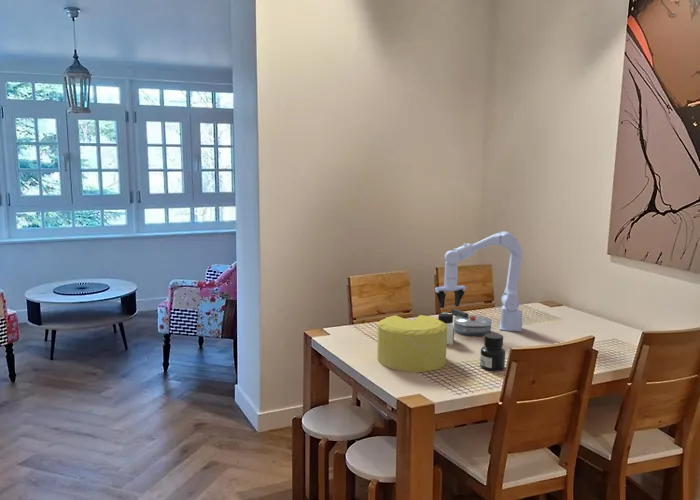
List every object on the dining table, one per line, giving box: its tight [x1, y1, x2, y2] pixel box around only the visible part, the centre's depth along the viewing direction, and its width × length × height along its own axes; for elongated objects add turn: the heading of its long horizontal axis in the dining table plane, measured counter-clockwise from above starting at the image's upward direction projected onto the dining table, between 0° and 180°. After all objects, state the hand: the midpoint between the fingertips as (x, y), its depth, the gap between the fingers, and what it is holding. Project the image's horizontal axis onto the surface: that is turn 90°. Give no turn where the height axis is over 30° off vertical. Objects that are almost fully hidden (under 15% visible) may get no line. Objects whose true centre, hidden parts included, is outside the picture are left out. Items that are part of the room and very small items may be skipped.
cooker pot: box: [453, 321, 492, 338], centre depth 269 cm, size 20×16×4 cm
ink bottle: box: [479, 332, 506, 372], centre depth 221 cm, size 10×9×12 cm
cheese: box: [376, 314, 448, 373], centre depth 228 cm, size 26×26×15 cm
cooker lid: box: [451, 308, 493, 327], centre depth 268 cm, size 22×16×3 cm
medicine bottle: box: [437, 312, 455, 345], centre depth 251 cm, size 7×7×12 cm
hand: (449, 306), depth 272 cm, fingers open, 7 cm apart
